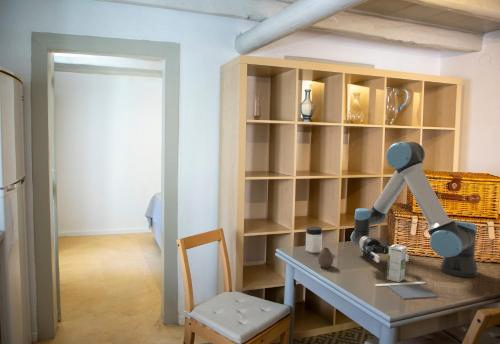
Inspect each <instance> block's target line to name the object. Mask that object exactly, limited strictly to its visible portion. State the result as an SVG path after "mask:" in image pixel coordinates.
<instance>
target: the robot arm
mask: <svg viewBox="0 0 500 344" xmlns="http://www.w3.org/2000/svg"><path fill="white" fill-rule="evenodd" d="M425 157H426V153H425V149H424V147H423V146H422V145H421V144H420V143H418V142H415V141H398V142H394V143H393V144H391V145H390V146H389V147H388V148H387V151H386V154H385V159H386V163H387V164H388V165H389V166H390V167H392V168H393V169H395V171H394V172H393V174H392V175H391V177H390V178H389V180H388V182H387V183H386V185H385V186H384V189H383V190H382V191H381V193H380V194H379V196H378V198H377V199H376V200H375V202H374V204H373V205H372V208H371V209H369V208H365V207H364V208H363V207H361V208H360V207H358V208H356V209H355V212H354V227H353V229H354V230H353V231H352V232H351V235H350V241H351V242H352V243H353V244H354V245H355V247H358V248H360V249H361V252H362V257H363V258H366V257H367V260H373V261H374V262H376V263H378V264H379V263H380V256H379V255H378V254H383V255H388V252H389V247H390V246H391V245H389V244H387V245H386V246H385V245H382V244H381V242H380V241H379V240H378V239H376V238H375V237H372V236H371V235H370V227H372V226H375V225H379V224H382V223H383V222H385V221H386V219H387V214H388V212H389V210H390V209H391V207H392V206H393V204H394V202H395V201H396V199H397V198H398V196H400V193H401V192H402V190H403V189H404V187H405V186H406V185H407V186H408V188H409V190H410V192H411V194H412V196H413V198H414V200H415V202H416V203H417V206H418V208H419V209H420V211H421V213H422V215H423V217H424V218H425V221H426V224H428V228H427V232H428V234H429V236H430V239H429V245H430V248H431V249H432V251H433V252H434V253H435V254H437V255H438V256H440V257H443V258H442V261H441V262H440V266H439V267H440V268H439V269H440V271H441V272H443V273H445V274H447V275H450V276H454V277H459V278H475V277H477V276H478V275H479V274H478V273H479V270H478V267H477V262H476V259H475V254H476V253H475V252H476V251H475V250H476V240H477V239H476V238H477V225H476V224H475V223H471V222H468V221H467V222H465V221H461V220H454V219H453V218H450V217H449V216H448V214H447V212H446V211H445V208H444V207H443V205H442V203H441V202H440V200H439V197H438V195H437V194H436V192H435V191H434V188H433V186H432V185H431V183H430V181H429V180H428V177H427V175H426V173H425V172H424V170H423V167H424V160H425ZM409 258H410V255H409V254H407V253H406V262H409Z"/></svg>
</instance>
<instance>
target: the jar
mask: <svg viewBox="0 0 500 344" xmlns="http://www.w3.org/2000/svg"><path fill="white" fill-rule="evenodd" d="M322 245H323V228H322V227H321V226H316V225H315V226H307V227H306V232H305V251H306V252H308V253H312V254H315V253H320V252H321V251H322V250H323V248H322V247H323V246H322Z"/></svg>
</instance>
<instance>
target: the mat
mask: <svg viewBox="0 0 500 344" xmlns="http://www.w3.org/2000/svg"><path fill="white" fill-rule="evenodd" d="M386 287H387V288H388V289H390V290H391V291H392V292H393V293H395V294H396V295H397V296H399V297H400V298H402V300H413V299H414V300H415V299H426V298H427V299H428V298H438V296H437V295H436V294H435V293H434V292H432V291H430V290H428V289H427V288H425V287H424V286H422V284H411V285H394V286H386Z"/></svg>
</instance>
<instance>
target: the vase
mask: <svg viewBox="0 0 500 344" xmlns="http://www.w3.org/2000/svg"><path fill="white" fill-rule="evenodd" d="M317 259H318V260H317V262H318V264H319V265H320V267H321V268H325V269H327V268H328V269H329V268H330V267H332V266H333V263H334V255H333V253H332V251H330V249H329V247H326V246H325V247H323V248H322V250H321V252H319V253H318V256H317Z"/></svg>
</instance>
